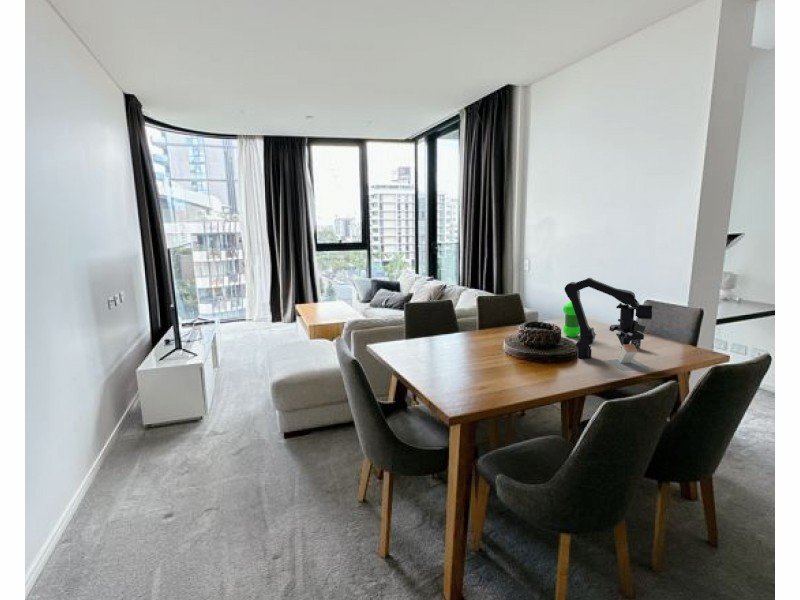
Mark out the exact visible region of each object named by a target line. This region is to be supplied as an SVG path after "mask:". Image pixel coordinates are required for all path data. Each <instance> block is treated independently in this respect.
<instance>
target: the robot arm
mask: <svg viewBox="0 0 800 600" xmlns="http://www.w3.org/2000/svg"><path fill="white" fill-rule="evenodd" d="M585 288H591V289H593V290H596V291H599V292H601V293H604V294H606V295H609V296H611V297H612V298H614V299H616V300H617V301H618V302H619V303H618V305H616V307H615V308H616V309H620V311H619V312H620V313H619V314H620V316H619V318H617V322H619V324H611V325H609V328H608V329H609V331H610V332H612V333H613V332H614V331H617V333H615V335H616V336H617V338H618V340H619V343H620V342H621V345H622V346H623V345H624V344H629V343H630V341H631V340H641V341H642V340H644V339H645V334H644V332H645V330H646V328H647V327H646V325H642V324H639V321H637V320H635V317H636V318H637V319H638V320H639V319H640V320H650V321H652V320H653V304H640V302H639V301H638V299H636V295H635V292H633V291H630V290H627V289H621V288H617V287H613V286H611V285H608V284H606V283H603V282H601V281H599V280H595V279H593V278H592V277H588V278H586V279H585V278H584V279H583V280H579V281H577V282H575V281H571V282H569V283H567V284H566V285H565V286H564V292H565V294H566V295H567V298H568V299H569V301H570V300H571V302H572V305H573V308H574V311H575V314H576V317H577V321H578V324H579V327H580V333H579V337H580V338H579V339H578V340H577V342H576V343H575V351H576V350H577V357H576V358H577V359H579V360H590V359H592V347H591V345H592V344H593V343H594V341H595V339H596V336H597V334H596V332H595V329H594V327H590V325H589V323H588V320H587V317H586V315H585V311H584V307H583V305H582V301H581V290H584V289H585ZM636 330H637V332H632V331H636ZM627 332H628V333H627Z"/></svg>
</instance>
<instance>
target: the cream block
mask: <svg viewBox="0 0 800 600" xmlns="http://www.w3.org/2000/svg"><path fill="white" fill-rule="evenodd" d="M638 350H639V349H638V348H636V347H635V346H634V344H624V345H623V346H622V348H621V347H620V349H619V352H618V353H617V356H616V358H617V359H618V360H619V362H620V363H631V361H632V359H634V358H635V355H636V354H637V353H638Z"/></svg>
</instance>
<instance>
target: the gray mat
mask: <svg viewBox="0 0 800 600" xmlns="http://www.w3.org/2000/svg"><path fill="white" fill-rule="evenodd" d="M605 361H606V362H607V363H608V364H610V365H612V366H614V367H616V368H617V369H620V370H621V371H638V370H642V371H643V370H653V369H652V368H651V367H650V366H648V365H646V364H644V363H642V362H640V361H638V360H636V359H634V358H633V359H632V361H631V363H620V362H619V360H618V358H617V359H605Z"/></svg>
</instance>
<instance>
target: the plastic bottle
mask: <svg viewBox="0 0 800 600" xmlns="http://www.w3.org/2000/svg"><path fill="white" fill-rule="evenodd" d="M562 310H563V313H564V314H565V319H564V322H565V323H564V326H563V328H562V329H563V330H562V332H563V333H564V335H566V336H567V337H568V336H569V338H576V337H577V336H580V327H579V324H578V321H577V317H576V314H575V311H574V308H573V305H572V302H571V300H570V299H569V301H568V302H567V303H566V304H564V306H563V309H562Z"/></svg>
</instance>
